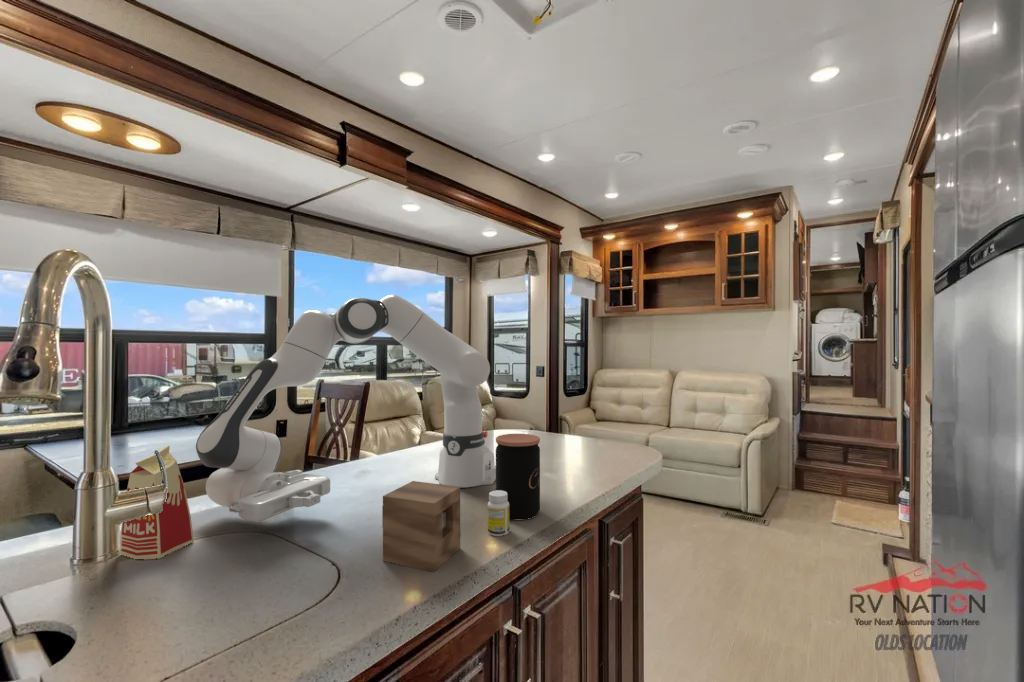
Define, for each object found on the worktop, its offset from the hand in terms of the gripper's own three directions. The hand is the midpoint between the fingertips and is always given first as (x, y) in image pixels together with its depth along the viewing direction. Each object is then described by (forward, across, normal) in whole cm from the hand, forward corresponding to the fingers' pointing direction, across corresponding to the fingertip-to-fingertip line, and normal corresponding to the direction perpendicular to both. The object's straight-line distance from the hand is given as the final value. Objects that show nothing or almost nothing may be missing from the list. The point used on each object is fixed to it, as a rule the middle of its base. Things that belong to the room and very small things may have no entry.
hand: (315, 501), depth 98 cm
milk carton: (-24, -17, +7) cm, 30 cm away
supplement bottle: (+36, +15, +7) cm, 40 cm away
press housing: (+27, 0, +7) cm, 28 cm away
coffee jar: (+36, +27, +7) cm, 46 cm away
